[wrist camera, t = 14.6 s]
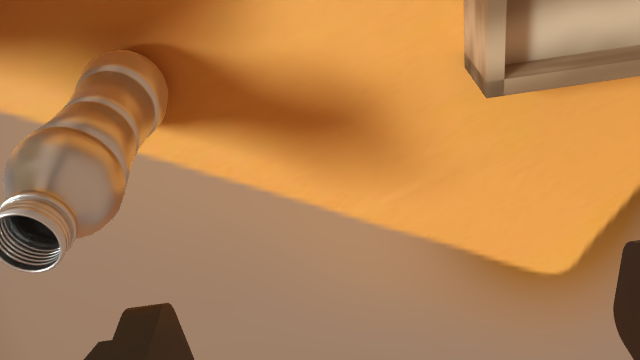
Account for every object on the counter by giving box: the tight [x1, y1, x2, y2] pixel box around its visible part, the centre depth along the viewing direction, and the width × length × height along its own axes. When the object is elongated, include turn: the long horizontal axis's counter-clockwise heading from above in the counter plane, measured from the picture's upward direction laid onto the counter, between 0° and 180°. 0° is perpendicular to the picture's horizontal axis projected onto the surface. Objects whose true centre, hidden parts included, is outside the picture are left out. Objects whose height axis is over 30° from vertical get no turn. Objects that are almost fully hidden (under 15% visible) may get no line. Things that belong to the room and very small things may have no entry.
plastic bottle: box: [0, 50, 168, 273], centre depth 35 cm, size 6×7×20 cm
